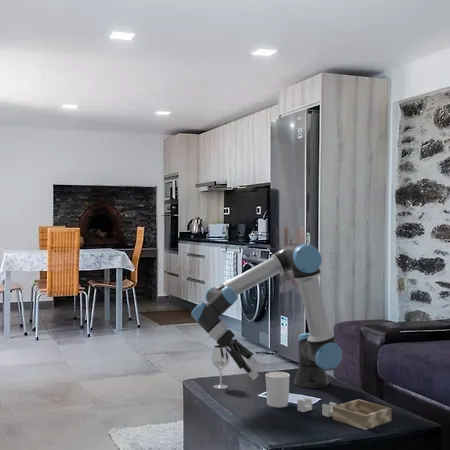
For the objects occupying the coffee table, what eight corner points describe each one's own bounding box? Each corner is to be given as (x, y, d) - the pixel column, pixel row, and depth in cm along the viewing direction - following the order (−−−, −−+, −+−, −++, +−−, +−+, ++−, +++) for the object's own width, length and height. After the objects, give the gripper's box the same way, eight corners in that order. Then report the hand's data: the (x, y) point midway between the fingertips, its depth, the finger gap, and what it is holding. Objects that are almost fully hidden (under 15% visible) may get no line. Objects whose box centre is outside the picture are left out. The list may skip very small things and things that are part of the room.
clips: (311, 406, 242) (311, 396, 242) (337, 414, 232) (337, 403, 232) (297, 410, 237) (297, 400, 237) (323, 418, 227) (323, 407, 227)
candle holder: (288, 408, 239) (288, 378, 239) (263, 407, 241) (263, 376, 241) (291, 401, 248) (291, 372, 248) (267, 400, 250) (267, 371, 250)
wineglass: (218, 383, 277) (218, 344, 277) (233, 386, 272) (233, 346, 272) (207, 387, 270) (207, 346, 270) (222, 390, 265) (222, 349, 265)
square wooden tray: (358, 411, 235) (358, 399, 235) (391, 421, 224) (391, 408, 224) (332, 419, 226) (332, 406, 226) (365, 429, 214) (365, 416, 214)
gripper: (221, 335, 261) (256, 372, 258) (209, 347, 237) (247, 387, 234) (233, 323, 260) (268, 360, 257) (222, 333, 236) (261, 374, 233)
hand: (258, 373), depth 245 cm, fingers open, 13 cm apart
